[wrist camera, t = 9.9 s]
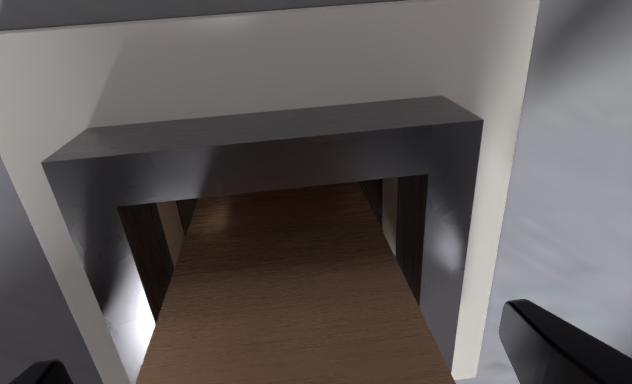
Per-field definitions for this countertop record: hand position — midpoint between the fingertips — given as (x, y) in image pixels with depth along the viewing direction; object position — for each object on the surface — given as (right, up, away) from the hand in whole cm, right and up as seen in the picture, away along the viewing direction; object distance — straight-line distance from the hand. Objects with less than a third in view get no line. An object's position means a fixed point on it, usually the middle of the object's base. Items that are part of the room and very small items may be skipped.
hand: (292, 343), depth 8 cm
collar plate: (0, +2, +4) cm, 4 cm away
